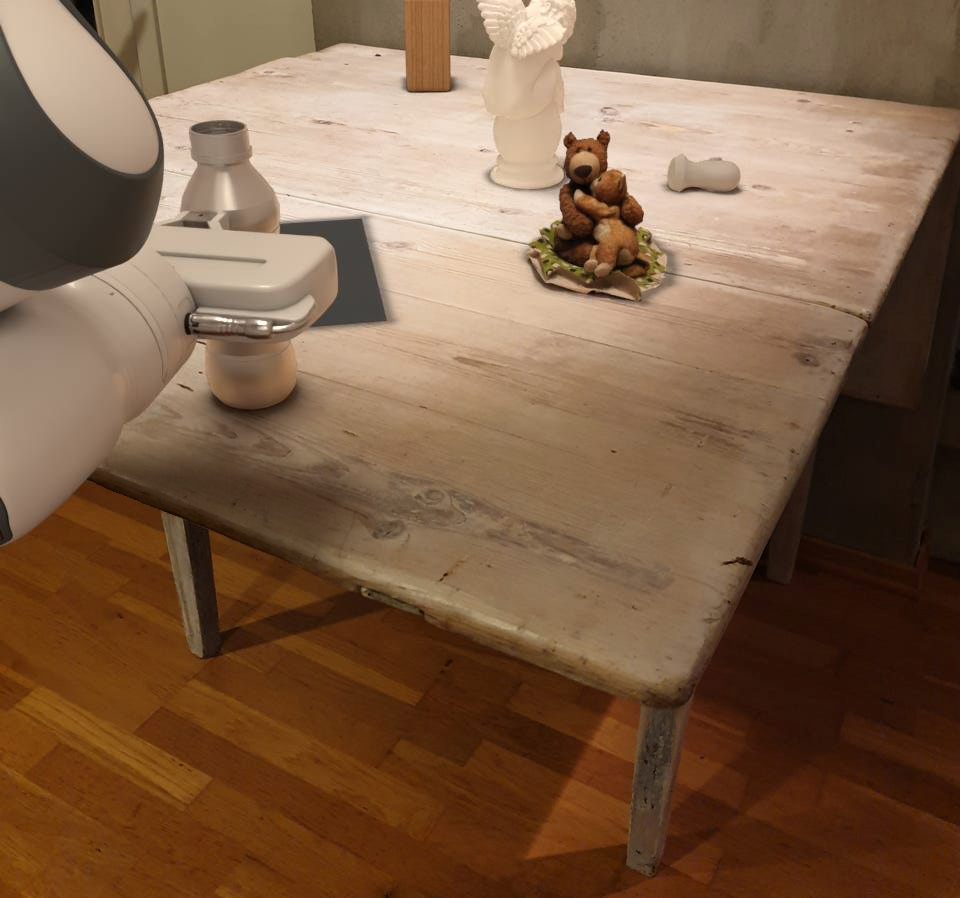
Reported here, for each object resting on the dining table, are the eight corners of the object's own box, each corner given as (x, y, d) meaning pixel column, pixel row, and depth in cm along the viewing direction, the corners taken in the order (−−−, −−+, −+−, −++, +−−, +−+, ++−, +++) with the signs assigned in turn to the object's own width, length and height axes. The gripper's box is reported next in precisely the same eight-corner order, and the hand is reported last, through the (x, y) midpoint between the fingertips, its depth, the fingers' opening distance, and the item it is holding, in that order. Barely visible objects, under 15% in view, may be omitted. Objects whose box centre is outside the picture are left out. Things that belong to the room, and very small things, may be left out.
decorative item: (449, 81, 151) (447, -63, 140) (450, 92, 145) (449, -57, 134) (406, 81, 150) (401, -63, 139) (406, 92, 145) (401, -57, 134)
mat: (169, 344, 80) (168, 338, 79) (186, 234, 99) (185, 229, 99) (387, 325, 82) (387, 320, 82) (362, 222, 102) (361, 218, 102)
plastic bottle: (239, 370, 76) (200, 109, 65) (316, 385, 74) (289, 119, 63) (193, 411, 71) (141, 135, 60) (274, 428, 69) (237, 146, 58)
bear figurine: (514, 297, 87) (518, 163, 80) (537, 234, 99) (541, 113, 92) (668, 310, 85) (685, 173, 78) (671, 244, 97) (686, 121, 90)
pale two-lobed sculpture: (733, 196, 112) (740, 198, 107) (663, 191, 113) (667, 193, 108) (738, 157, 111) (745, 157, 106) (668, 153, 112) (671, 152, 107)
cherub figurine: (553, 163, 118) (562, -37, 106) (601, 196, 109) (618, -19, 96) (460, 175, 114) (459, -30, 102) (502, 211, 105) (506, -11, 92)
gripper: (291, 280, 47) (364, 185, 59) (-91, 250, 50) (49, 165, 61) (303, 390, 51) (370, 281, 62) (-53, 358, 53) (72, 258, 65)
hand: (208, 223), depth 62 cm, fingers closed
